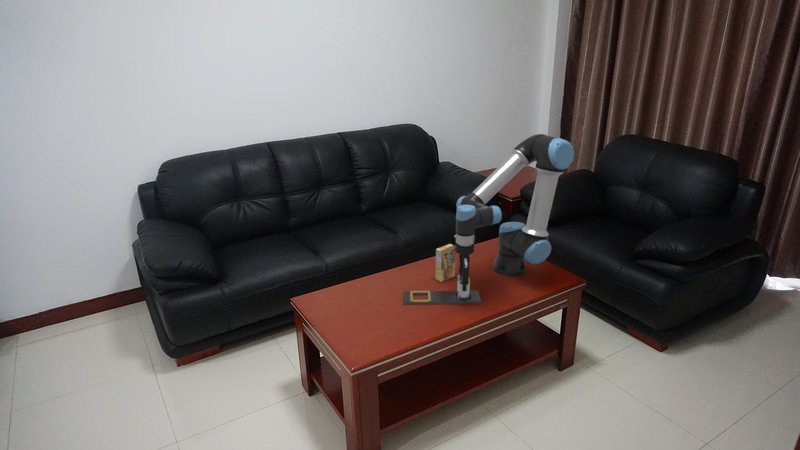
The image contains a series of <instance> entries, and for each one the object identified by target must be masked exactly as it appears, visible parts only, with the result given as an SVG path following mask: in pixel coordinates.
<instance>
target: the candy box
mask: <svg viewBox="0 0 800 450" xmlns="http://www.w3.org/2000/svg"><path fill="white" fill-rule="evenodd" d="M456 254H457V253H456V251H455V244H454V245H453V244H451V243H448V244H446V245H443V246H440V247H438V248H436V249H435V277H434V278H435V280H437V281H438V282H444V281H446V280H449V279H452V278H455V277H456V276H455V275H456Z"/></svg>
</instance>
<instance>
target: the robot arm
mask: <svg viewBox="0 0 800 450" xmlns="http://www.w3.org/2000/svg"><path fill="white" fill-rule="evenodd" d="M574 156H575V151H574V147H573V146H572V143H570V142H569V141H568V140H566V139H563V138H561V137H555V136H551V135H546V134H543V133H542V134H541V133H537V134H534V135H532V136H529V137H527V138H525V139H523V141H521V142H519V144H517V145H516V146H515V147H514V148H513V149H512V150H511V154H510V155H509V156H508V157H507V158H506V159H504V161H503V162H502V163H500V164H499V166H498V167H496V169H494V171H492V173H490V175H489V176H487V177H486V178H485V179H484V180H483V182H481V183H480V184H479V185H478V186H477V187H476V188H475V189H474V190H473V191H472V192H471V193H470V194H469V195H467V196H466V195H462V196H460V197H459V198H458V199H457V201H456V213H455V214H456V215H455V235H454V236H453V237H454V238H455V244H454V246H455V251H456V254H458V255H459V256H458V258H459V259H458V260H459V261H458V262H459V269H458V270H459V271H458V272H459V274H458V275H462V282H460V284H461V297H467V290H468V284H469V283H468V282H469V279H470V275H469V274H470V264H471V263H470V259H471V258H470V255H473V253H474V251H475V240H476V239H475V237H476V236H475V235H476V233H475V231H476V229H478V228H481V227H487V226H488V227H489V226H493V225H495V224H499V223H500V222H501V221H502V219H503V217H502V216H503V213H502V210H501V208H500V207H499V206H498V205H489V206H488V205H486V204H487V203H488V202H489V201H490V200H491V199H493V198H494V196H495V195H497V193H498V192H500V190H501V189H502V188H503V187H504V186H505V185H506V184H508V183H509V182H510V181H511V180H512V179H513V178H514V177H515V176H516V175H517V174H518V173H519V172H521V170H522V169H523V168H524V167H529V165H530V164H532V163H534V162H536V163H535V170H536V171H537V176H536V180H535V184H534V188H533V193H532V197H531V201H530V206H529V211H528V216H527V220H526V224H525V223H523V222H520V221H507V222H503V223H501V224H500V226H499V230H498V231H499V232H498V245H497V246H498V247H497V249H498V250H497V255H496V257H495V258H494V262H493V266H492V267H493V268H492V269H493V271H494V272H495V273H497V274H499V275H501V276H507V277H518V276H521V275H522V276H523V275H524V274H526V271H527V263H526V262H528V263H531V264H533V265H538V264H541V263H543V262H544V261H545V260H546V259H548V257H549V256H550V254H551V251H552V245H551V243H550V242H549V240H548V239H549V236H550V234H549V232H548V231H547V227H548V224H549V223H548V222H549V219H550V214H551V210H552V206H553V203H554V202H553V201H554V198H555V194H556V189H557V186H558V181H559V177H560V176H561V175H562V174H564V171H565V170H566V169H567V168H570V165H571V164H572V163H573V161H574V159H575V157H574Z"/></svg>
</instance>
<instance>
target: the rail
mask: <svg viewBox="0 0 800 450" xmlns="http://www.w3.org/2000/svg"><path fill="white" fill-rule="evenodd" d="M414 296H427V299H413V298H414ZM456 296H457V290H407V291H403V305H463V304H464V305H469V304H470V305H473V304H474V305H475V304H476V305H480V304H482V299H481V296H480V292H479V290H469V298H470V299H469V300H458V299H457V297H456Z"/></svg>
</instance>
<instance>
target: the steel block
mask: <svg viewBox="0 0 800 450" xmlns="http://www.w3.org/2000/svg"><path fill="white" fill-rule="evenodd" d="M470 280H471V278H469V282H468V283H469V284H468V290H467V297H461V284H460V282H462V275H459V274H457V286H456V287H457V288H456V291H457V295H456V296H457V297H456V299H457V300H470V295H469V291H470V285H471V281H470Z"/></svg>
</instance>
